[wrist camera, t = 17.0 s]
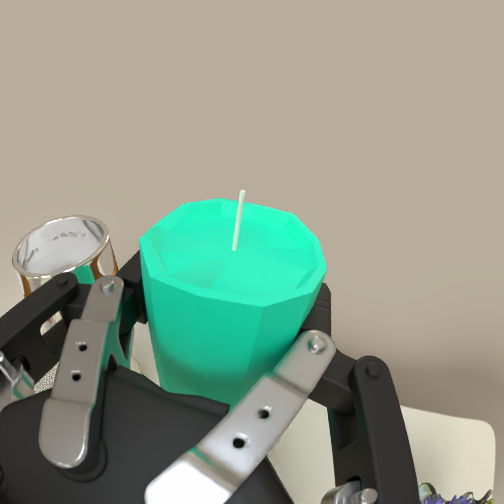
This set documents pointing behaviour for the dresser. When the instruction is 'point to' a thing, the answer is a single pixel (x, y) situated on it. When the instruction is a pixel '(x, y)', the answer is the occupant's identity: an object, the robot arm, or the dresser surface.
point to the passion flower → (431, 500)
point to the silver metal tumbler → (65, 256)
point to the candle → (226, 293)
